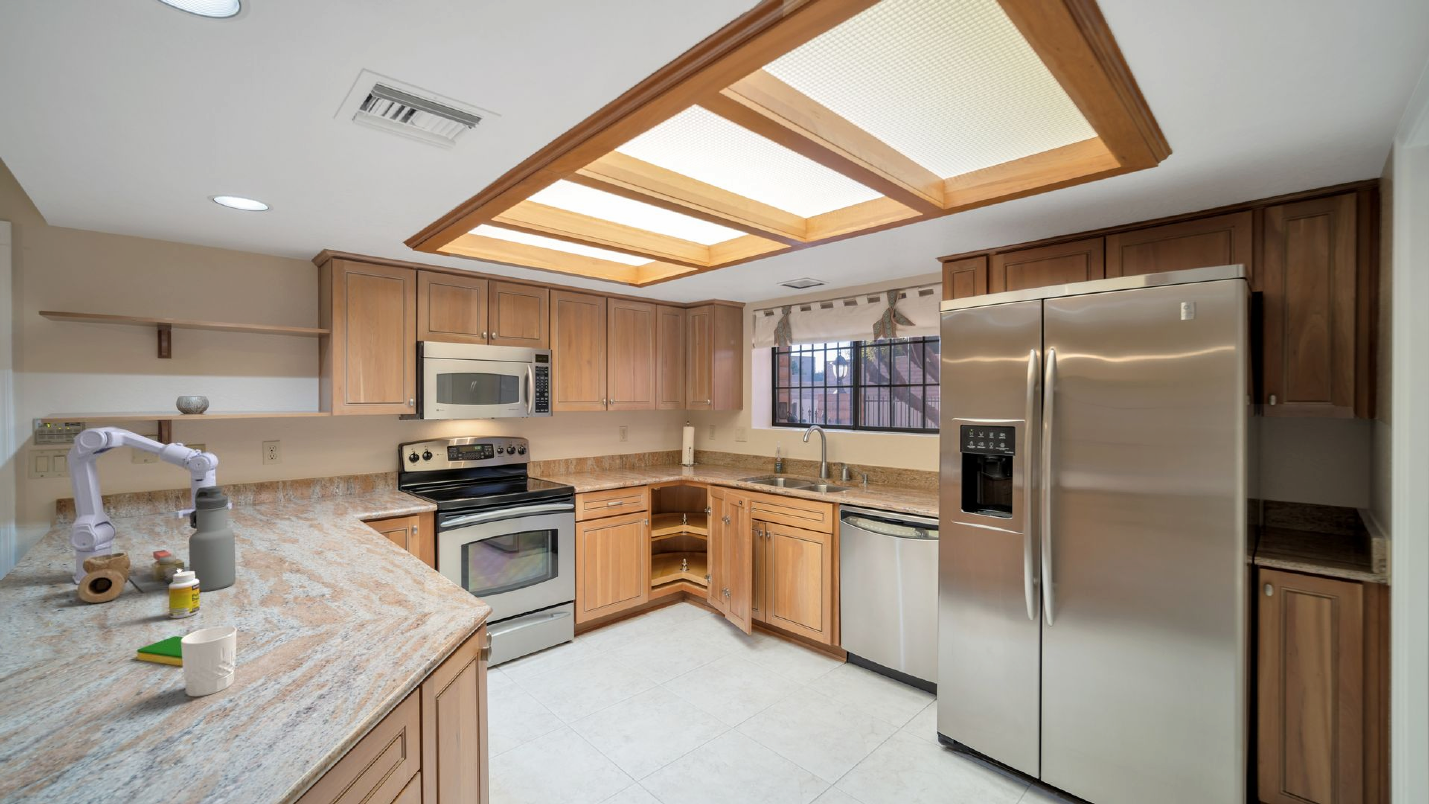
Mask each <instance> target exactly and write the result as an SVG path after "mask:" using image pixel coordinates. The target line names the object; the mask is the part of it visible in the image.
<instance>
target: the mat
mask: <svg viewBox="0 0 1429 804" xmlns="http://www.w3.org/2000/svg"><path fill="white" fill-rule="evenodd" d="M184 571H185V572H186V571H190V566H189V565H188V566H184ZM128 580H129V581H130V582H131V583H133V584H134V586H135V587H137V589H138V590H139V591H140V592H141V593H143V594H145V593H149V592H150V591H151V592H156V591H161V590H165V588H166V589H169V584H167V583H166V582H165V581H159V582H156V581H155V580H154V579H153V578H152V572H150V573H144V574H140V575H134V576H129V579H128ZM151 592H150V593H151Z"/></svg>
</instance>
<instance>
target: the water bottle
mask: <svg viewBox="0 0 1429 804" xmlns="http://www.w3.org/2000/svg"><path fill="white" fill-rule="evenodd" d="M223 489H224V488H223V486H219V485H216V486H210V487H201V488H199V489H198V490H197V492H196V495H195V504H196V505H195V507H196V509H195V511H193V512H191V514H190V516H189V522H190V523H189V525H190V528H191V529H193V530H194V529H196V531H195V532H194V533H193V534H191V535H190V536H189V538H188V556H189V558H188V559H189V565H188V566H190V571H194V572H195V579H198V580H199V593H201V592H205V593H206V592H212V591H218V590H221V589H222V590H223V589H224V588H229V587H231V586H233V585H234V584H235V582H236V578H237V577H236V535H235V534H236V533H235V532H234V530H232V529H231V528H229V527H228V509H227V507H228V506H227V505H228V503H229V498H228V496H227V495H225V494H222V491H223ZM195 514H196V523H197V526H195V524H194V515H195Z"/></svg>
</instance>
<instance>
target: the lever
mask: <svg viewBox="0 0 1429 804" xmlns="http://www.w3.org/2000/svg"><path fill="white" fill-rule="evenodd" d="M152 555H153V559H155V561H157V560H158V561H159V564H170V563H174V562H176V559H177V555H175V554H174V555H172V554H171V553H170V552H169V551H166V550H164V549H162V550H155V551H152Z"/></svg>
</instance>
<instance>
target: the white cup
mask: <svg viewBox="0 0 1429 804" xmlns="http://www.w3.org/2000/svg"><path fill="white" fill-rule="evenodd" d="M237 630H238V629H237V627H235V626H233V625H221V626H220V625H219V626H213V627H208V628H204V629H199V630H196V631H193V632H191V633H189V634H186V635H185V636H182V637H183V638H182V639H181V649H182V662H183V666H182V669H183V677H184V683H185V684H184V685H185V694H186V695H188V697H202V696H208V695H211V694H215V693H218V692H219V693H220V692H221V691H223V690H225V689H227V688H229V687H230V686H232V685H233V683H234V681H235V669H236V668H235V667H236V656H237V655H236V654H237V634H238V633H237Z"/></svg>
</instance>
